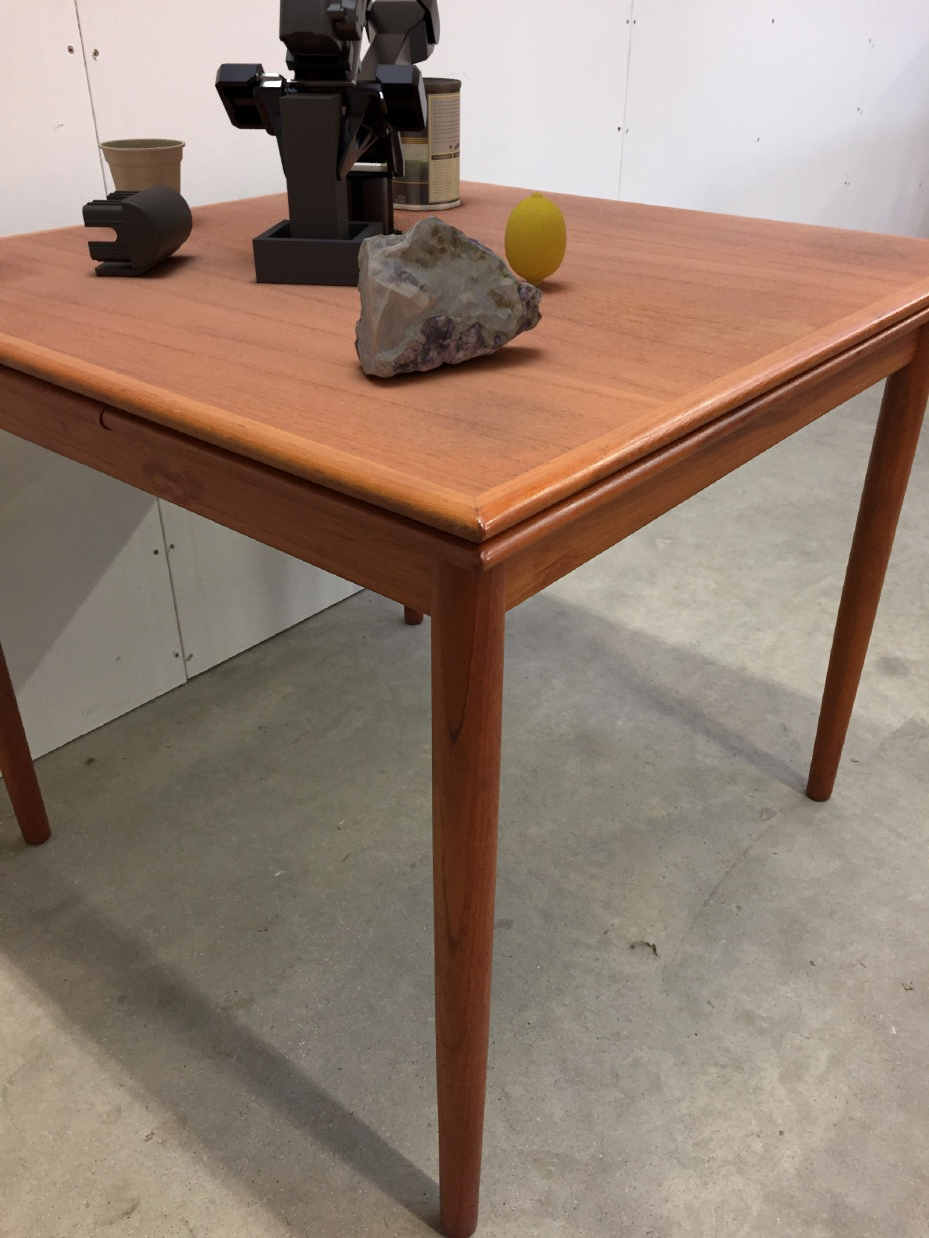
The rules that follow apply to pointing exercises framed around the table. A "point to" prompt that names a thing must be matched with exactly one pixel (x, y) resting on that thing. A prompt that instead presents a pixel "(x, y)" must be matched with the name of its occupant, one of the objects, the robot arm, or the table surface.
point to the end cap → (138, 229)
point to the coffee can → (432, 153)
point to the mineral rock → (436, 300)
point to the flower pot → (144, 163)
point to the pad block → (314, 165)
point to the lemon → (535, 238)
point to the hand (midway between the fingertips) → (312, 177)
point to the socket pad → (310, 256)
